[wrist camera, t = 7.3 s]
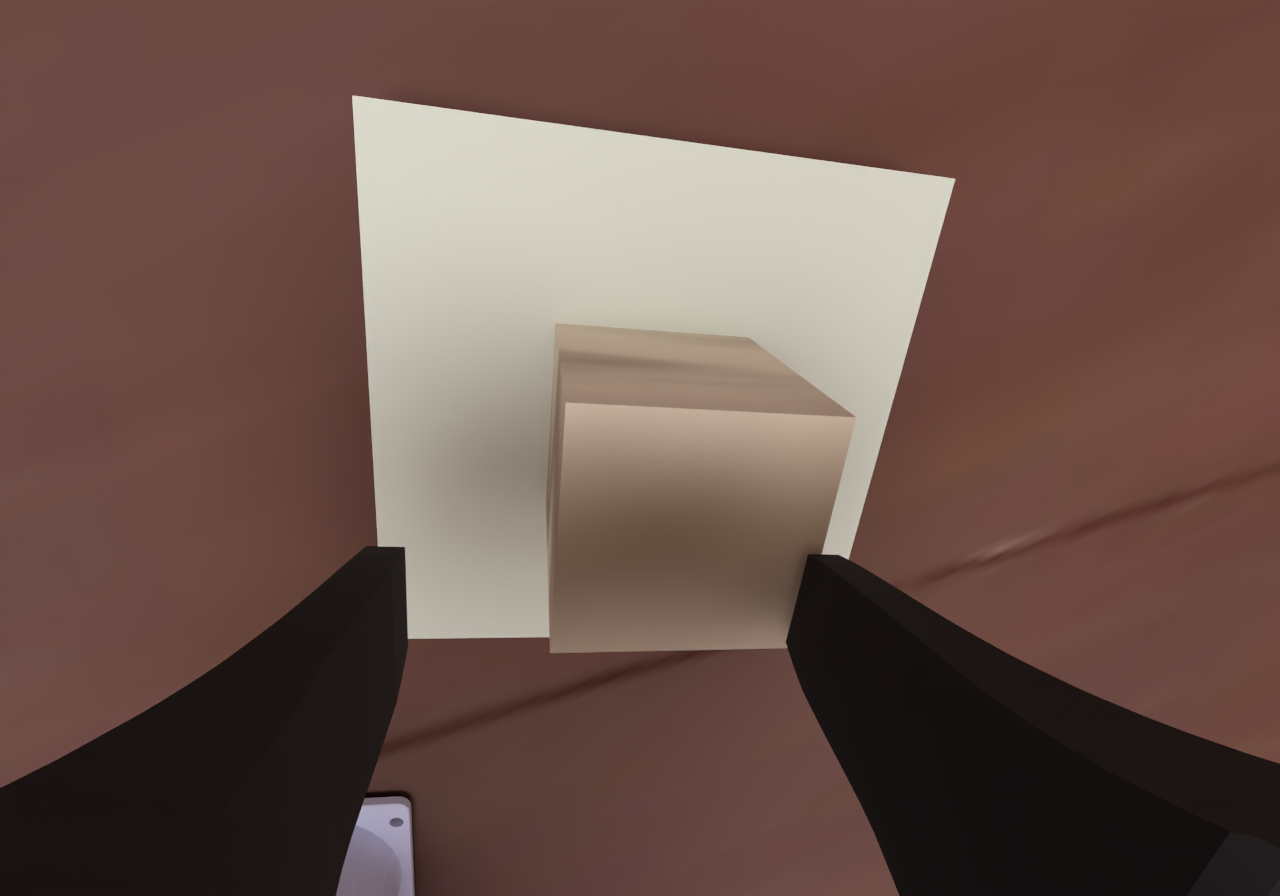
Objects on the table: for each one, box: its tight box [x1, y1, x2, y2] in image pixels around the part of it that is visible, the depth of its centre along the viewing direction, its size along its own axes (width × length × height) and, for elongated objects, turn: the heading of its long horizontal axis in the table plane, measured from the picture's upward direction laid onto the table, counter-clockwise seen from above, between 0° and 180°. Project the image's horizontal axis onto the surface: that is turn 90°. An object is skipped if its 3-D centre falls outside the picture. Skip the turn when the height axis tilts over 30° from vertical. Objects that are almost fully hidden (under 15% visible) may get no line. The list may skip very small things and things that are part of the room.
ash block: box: [546, 323, 856, 653], centre depth 14 cm, size 5×5×6 cm
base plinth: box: [352, 95, 955, 639], centre depth 18 cm, size 14×14×3 cm
